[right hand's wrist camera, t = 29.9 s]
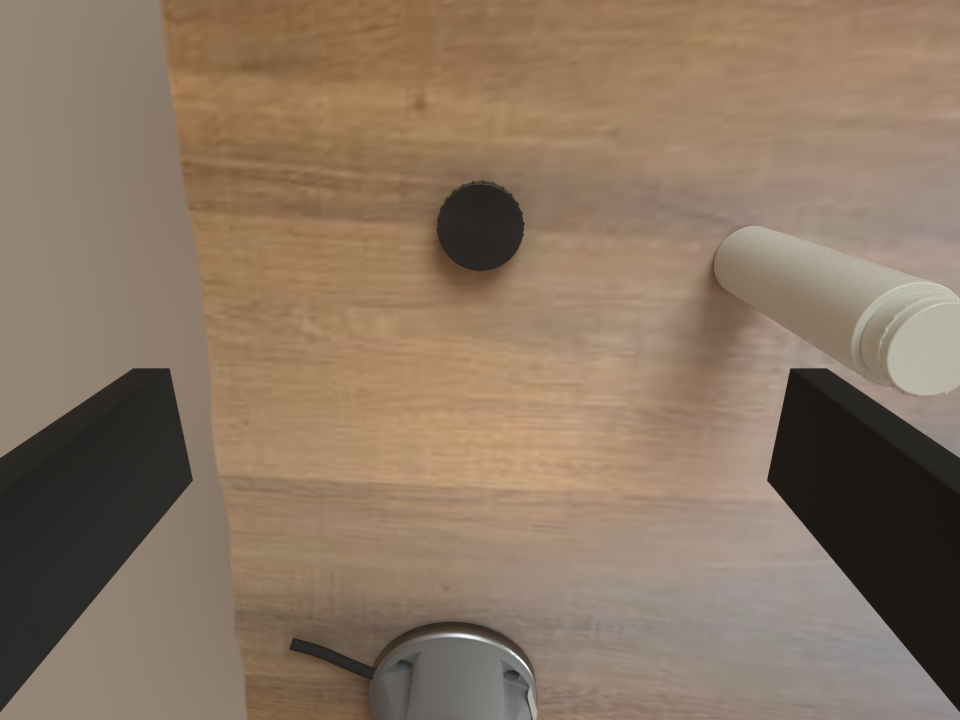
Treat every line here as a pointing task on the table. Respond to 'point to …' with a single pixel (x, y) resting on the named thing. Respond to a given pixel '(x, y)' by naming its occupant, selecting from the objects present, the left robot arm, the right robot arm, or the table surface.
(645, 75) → the table surface
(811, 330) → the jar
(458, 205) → the lid
